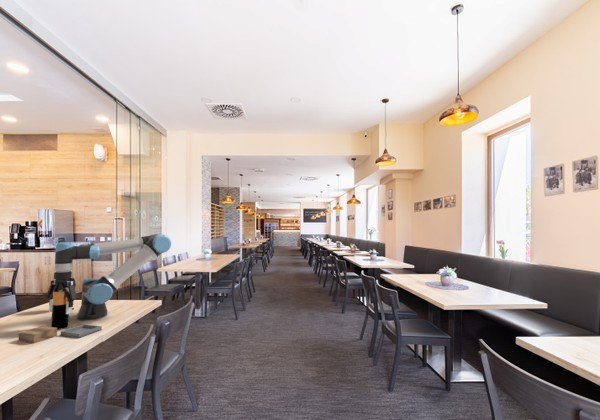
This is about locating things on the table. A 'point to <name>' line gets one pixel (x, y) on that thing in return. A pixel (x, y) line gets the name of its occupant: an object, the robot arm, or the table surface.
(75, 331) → the dock tray
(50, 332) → the block
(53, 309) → the battery
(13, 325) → the table surface
